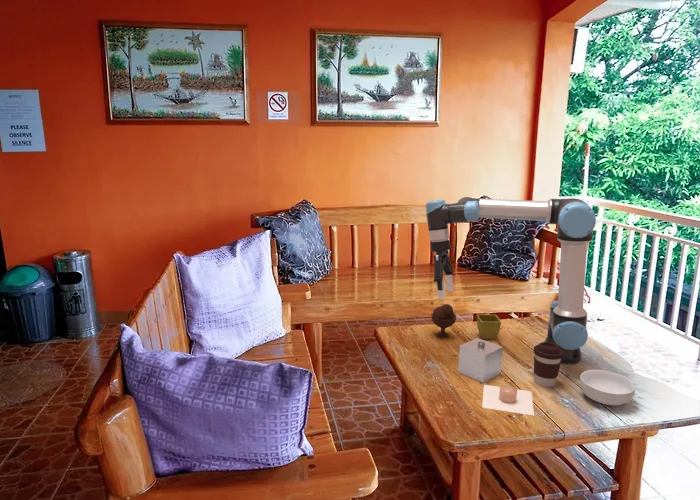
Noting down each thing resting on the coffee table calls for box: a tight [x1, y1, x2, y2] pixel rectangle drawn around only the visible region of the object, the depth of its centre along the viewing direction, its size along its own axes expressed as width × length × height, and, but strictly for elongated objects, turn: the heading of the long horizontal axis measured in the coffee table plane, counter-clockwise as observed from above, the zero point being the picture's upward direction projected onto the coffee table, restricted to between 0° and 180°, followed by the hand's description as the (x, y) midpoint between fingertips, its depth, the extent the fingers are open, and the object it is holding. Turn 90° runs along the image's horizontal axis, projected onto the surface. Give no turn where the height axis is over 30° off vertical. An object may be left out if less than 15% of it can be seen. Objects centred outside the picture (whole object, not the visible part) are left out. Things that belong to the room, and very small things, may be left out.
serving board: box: [481, 384, 535, 416], centre depth 173 cm, size 16×16×1 cm
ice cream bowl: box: [430, 303, 457, 340], centre depth 225 cm, size 11×11×15 cm
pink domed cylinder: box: [499, 385, 517, 404], centre depth 173 cm, size 6×6×4 cm
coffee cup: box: [532, 341, 564, 388], centre depth 184 cm, size 10×10×15 cm
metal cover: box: [457, 337, 504, 384], centre depth 190 cm, size 11×11×12 cm
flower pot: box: [476, 313, 502, 340], centre depth 226 cm, size 9×9×9 cm
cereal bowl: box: [579, 369, 636, 406], centre depth 175 cm, size 17×17×7 cm
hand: (446, 294), depth 200 cm, fingers open, 13 cm apart
